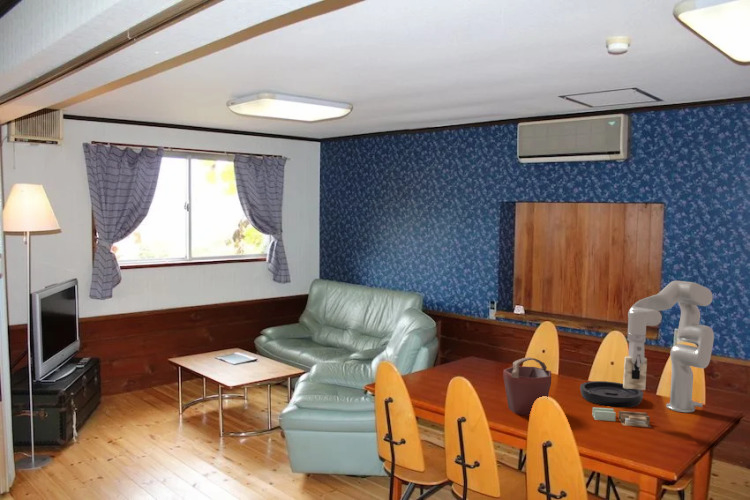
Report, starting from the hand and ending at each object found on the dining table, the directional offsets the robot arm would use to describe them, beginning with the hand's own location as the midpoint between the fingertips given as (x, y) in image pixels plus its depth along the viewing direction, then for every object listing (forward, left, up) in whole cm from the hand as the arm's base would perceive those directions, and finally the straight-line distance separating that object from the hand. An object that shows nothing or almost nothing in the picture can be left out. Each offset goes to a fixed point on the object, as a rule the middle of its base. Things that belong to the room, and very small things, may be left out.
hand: (634, 377), depth 282 cm
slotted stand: (+12, -2, -21) cm, 24 cm away
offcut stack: (0, +5, -20) cm, 21 cm away
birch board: (0, 0, -5) cm, 5 cm away
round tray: (+3, -36, -22) cm, 42 cm away
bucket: (+47, -8, -21) cm, 52 cm away
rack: (0, +2, -21) cm, 21 cm away
